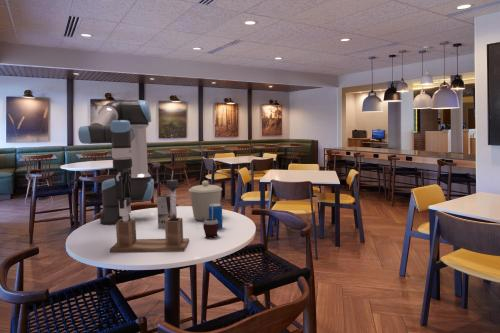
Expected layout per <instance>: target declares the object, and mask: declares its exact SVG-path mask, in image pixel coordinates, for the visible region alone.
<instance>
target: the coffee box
mask: <svg viewBox="0 0 500 333" xmlns="http://www.w3.org/2000/svg"><path fill="white" fill-rule="evenodd" d="M156 198H157V199H156V203H157V205H156V206H157V209H156V210H157V228H158V229H164V230H165V221H166V220H167V219H168V218H171V210H170V193H163V194H161V195H157V197H156Z"/></svg>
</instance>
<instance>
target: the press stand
mask: <svg viewBox="0 0 500 333" xmlns="http://www.w3.org/2000/svg"><path fill="white" fill-rule="evenodd" d="M183 222H184V221H183V217H177V221H171V218H168V219H167V220H166V221H165V229H164V230H165V231H164V232H165V238H143V239H142V238H138V239H137V226H136V225H137V224H136V218H130V219H129V222H123V219H120V220H119V221H117V222H116V224H115V229H116V233H115V234H116V243H115V244H113V245H112V246H111V247H110V248H109V253H110V254H111V253H112V254H113V253H155V252H156V253H157V252H158V253H159V252H161V253H162V252H163V253H164V252H185V250H186V249H187V246H188V244H190V243H189V242H190V238H188V237H187V238H186V237H185V238H184V226H183V225H184V224H183Z"/></svg>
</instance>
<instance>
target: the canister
mask: <svg viewBox="0 0 500 333" xmlns="http://www.w3.org/2000/svg"><path fill="white" fill-rule="evenodd" d="M209 183H210V182H209V181H208V180H203V181H202V182H201V184H198V185H194V186H192V187H190V188H189V189H188V192H189V194H190V201H191V208H192V213H193V214H192V215H193V217H194V218H195V220H197V221H202V222H204V221H205V220H206V219H209V206H210V204H212V202H214V203H213V204H221V195H222V191H223V188H222V187H220V186H219V185H215V184H209Z"/></svg>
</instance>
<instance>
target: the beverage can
mask: <svg viewBox="0 0 500 333" xmlns="http://www.w3.org/2000/svg"><path fill="white" fill-rule="evenodd" d="M209 218H212V204H210V206H209ZM213 218H215V219H217V221H218V223H219V229H218V231H220V230H221V229H222V228H223V207H222V204H221V203H220V204H213Z"/></svg>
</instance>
